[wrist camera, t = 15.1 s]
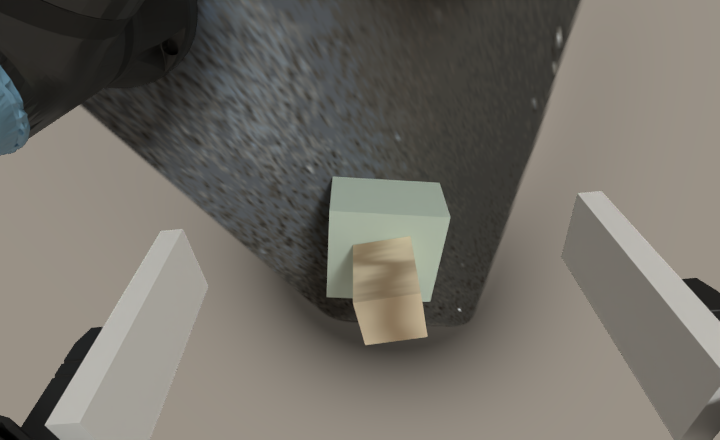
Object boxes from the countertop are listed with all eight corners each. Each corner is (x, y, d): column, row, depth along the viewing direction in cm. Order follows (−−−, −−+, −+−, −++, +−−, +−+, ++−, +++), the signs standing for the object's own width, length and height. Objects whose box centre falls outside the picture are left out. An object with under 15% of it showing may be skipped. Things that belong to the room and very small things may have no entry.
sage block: (329, 257, 53) (326, 297, 47) (332, 175, 46) (329, 210, 40) (422, 261, 54) (430, 301, 48) (439, 181, 47) (450, 217, 41)
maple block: (363, 285, 46) (365, 345, 40) (353, 245, 43) (352, 303, 36) (417, 277, 46) (427, 336, 39) (410, 235, 42) (420, 293, 36)
